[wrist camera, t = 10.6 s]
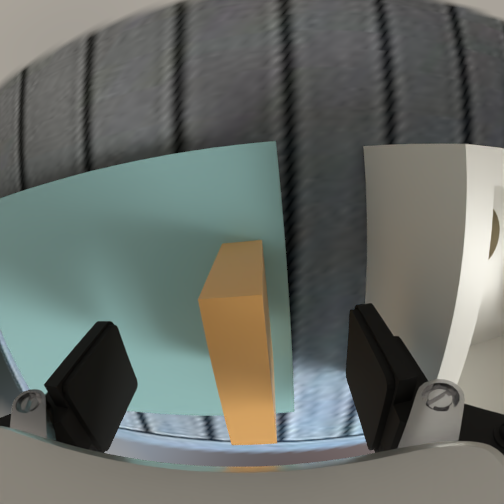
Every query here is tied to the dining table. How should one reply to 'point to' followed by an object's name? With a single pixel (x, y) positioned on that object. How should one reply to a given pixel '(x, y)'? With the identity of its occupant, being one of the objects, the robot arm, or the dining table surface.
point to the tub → (440, 260)
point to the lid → (160, 281)
